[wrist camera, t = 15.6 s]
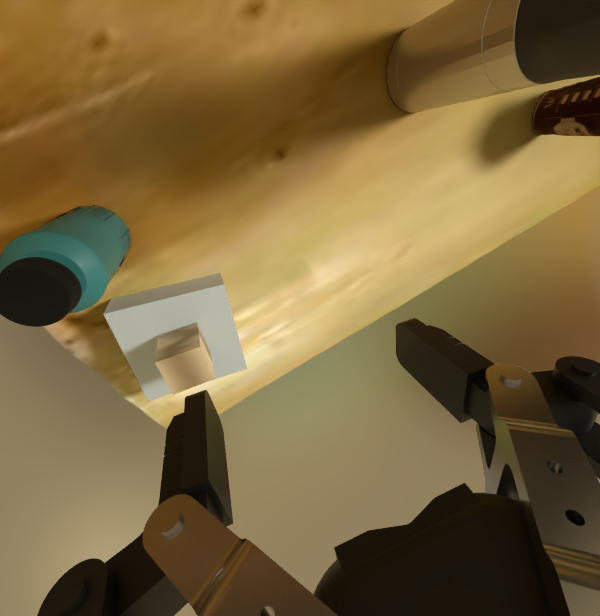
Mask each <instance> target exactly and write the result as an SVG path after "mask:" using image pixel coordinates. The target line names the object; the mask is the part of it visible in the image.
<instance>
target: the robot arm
mask: <svg viewBox="0 0 600 616" xmlns="http://www.w3.org/2000/svg"><path fill="white" fill-rule="evenodd" d="M594 75H600V0H455V1H453V2H451V3H450V4H448V5H446V6H445V7H443V8H441V9H440V10H438V11H436V12H435V13H433V14H431V15H429V16H428V17H426V18H424V19H423V20H421V21H419V22H418V23H416V24H414V25H413V26H411V27H409V28H408V29H406V30H405V31H404V32H403V33H402V34H401V35H400V36H399V37H398V38H397V40H396V42H395V43H394V45H393V47H392V50H391V52H390V55H389V60H388V64H387V84H388V89H389V93H390V95H391V98H392V100H393V101H394V103H395V104H396V105H397V106H398V107H399V108H400V109H401V110H403V111H405V112H410V113H413V112H419V111H424V110H428V109H433V108H438V107H443V106H447V105H452V104H456V103H461V102H465V101H470V100H474V99H479V98H483V97H488V96H492V95H497V94H501V93H506V92H510V91H514V90H518V89H523V88H527V87H532V86H536V85H541V84H546V83H551V82H555V81H560V80H565V79H573V78H580V77H587V76H594ZM396 355H397V358H398V360H399V362H400V364H401V365H402V366H403V368H405V369H406V370H407V371H408V372H409V373H410V374H411V375H412V376H413V377H414V378H415V379H416V380H417V381H418V382H419V383H420V384H421V385H422V386H423V387H424V388H425V389H426V390H427V391H428V392H429V393H430V394H431V395H432V396H433V397H434V398H436V400H437V401H439V402H440V403H441V404H442V405H443V406H444V407H445V408H446V409H447V410H448V411H449V412H450V413H451V414H452V415H453V416H454V417H455V418H456V419H457V420H458V421H459V422H460V423H462V422H465V421H467V420H469V419H471V418H472V419H474V420H475V421H476V422H477V424H476V432H477V437H478V442H479V448H480V452H481V458H482V463H483V468H484V474H485V493H473V492H472V491H471V490H470V489H469V487H468V486H467V485H466V484H465V483H463V484H462V485H459V486H458V487H455V488H453V489H451V490H449V491H447V492H445V493H443V494H441V495H439V496H437V497H435V498H434V499H433V500H432V501H431V502H430V503H429V504H428V505H427V506H426V508H425V509H424V510H423V511H422V512H421V513H420V514H419V515H418V516H417V517H416V518H415V519H414V520H413V521H412V522H411V523H409V524H407V525H402V526H396V527H389V528H382V529H375V530H369V531H367V532H365V533H363V534H361V535H359V536H357V537H355V538H353V539H351V540H349V541H347V542H344V543H343V544H341V545H338V546H337V547H335V548H334V549H335V552H336V557H337V560H336V561H335V562H334V563H333V564H332V565H331V566H330V567H329V569H328V570H327V571H326V573H325V574H324V575H323V577H322V579H321V580H320V582H319V584H318V585H317V588H316V590H315V592H314V594H312V593H311V592H310V591H309V590H307V589H306V588H305V587H304V586H303V585H302V584H300V583H299V582H298V581H297V580H295V578H293V577H292V576H291V575H290V574H289V573H287V572H286V571H285V570H284V569H283V568H282V567H280V566H279V565H278V564H277V563H276V562H275V561H273V560H272V559H271V558H270V557H269V556H267V555H266V554H265V553H264V552H263V551H262V550H260V549H259V548H258V547H257V546H256V545H254V544H253V543H252V542H250V541H249V540H247V539H243V540H242V539H240V538H239V537H238V536H237V535H235V534H234V533H233V532H232V531H231V530H230V529H228V528H227V527H226V526H229V525H231V524H233V518H232V509H231V499H230V490H229V480H228V471H227V461H226V453H225V442H224V433H223V428H222V424H221V421H220V418H219V416H218V413H217V411H216V409H215V407H214V405H213V402H212V400H211V398H210V396H209V393H208V392H207V390H204V391H201V392H198V393H196V394H193V395H190V396H187V397H186V398H185V409H184V413H182V414H179V415H176V416H174V417H173V419H172V421H171V423H170V425H169V427H168V429H167V434H166V446H165V453H164V455H165V457H164V461H163V471H162V480H161V489H160V498H159V505H158V507H157V508H156V509H155V510H154V512H153V513H152V514H151V516H150V517H149V519H148V521H147V523H146V525H145V528H144V531H143V533H142V534H141V535H140V536H139V537H138V538H136V539H135V540H134V541H133V542H132V543H130V544H129V545H128V546H127V547H125V548H124V549H122V550H121V551H120V552H119V553H117V554H116V555H115V556H113V557H112V558H111V559H109V560H108V561H107V562H105V563H104V562H103V561H101V560H100V559H88V560H85V561H82V562H80V563H79V564H77V565H75V566H74V567H73V568H71V569H70V570H68V571H67V572H66V573H65V574H64V575H63V576H62V577H61V578H60V579H59V580H58V582H56V584H55V585H54V586H53V587H52V589H51V590H50V591H49V593H48V594H47V596H46V598H45V600H44V601H43V604H42V605H41V608H40V610H39V613H38V615H37V616H174V615H175V614H176V613H177V612H178V611H179V610H181V608H183V607H184V606H185V605H186V604H187V603H189V604H190V605H191V606H192V608H193V609H194V610H195V612H196V614H197V615H198V616H600V483H599V481H598V479H597V477H598V478H599V479H600V425H599V424H598V423H596V422H595V420H596V418H597V416H598V414H600V363H598V362H596V361H593V360H590V359H586V358H583V357H575V356H569V357H563V358H560V359H558V360H557V361H556V364H555V367H554V370H552V371H541V372H532V373H530V372H528V371H527V370H525V369H523V368H521V367H518V366H515V365H511V364H494V363H492V362H491V361H489V360H488V359H486V358H485V357H483V356H482V355H480V354H479V353H477V352H476V351H474V350H473V349H471V348H470V347H468V346H467V345H465V344H462V343H461V341H459V340H458V339H456V338H453V336H452V335H450V334H448V333H447V332H446V331H444V330H442V329H439V328H436V327H433V326H430V325H429V326H426V325H425V324H424V323H422V322H421V321H419V320H418V319H416V318H413V319H410V320H407V321H404V322H401V323H399V324H397V326H396ZM596 476H597V477H596Z"/></svg>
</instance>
